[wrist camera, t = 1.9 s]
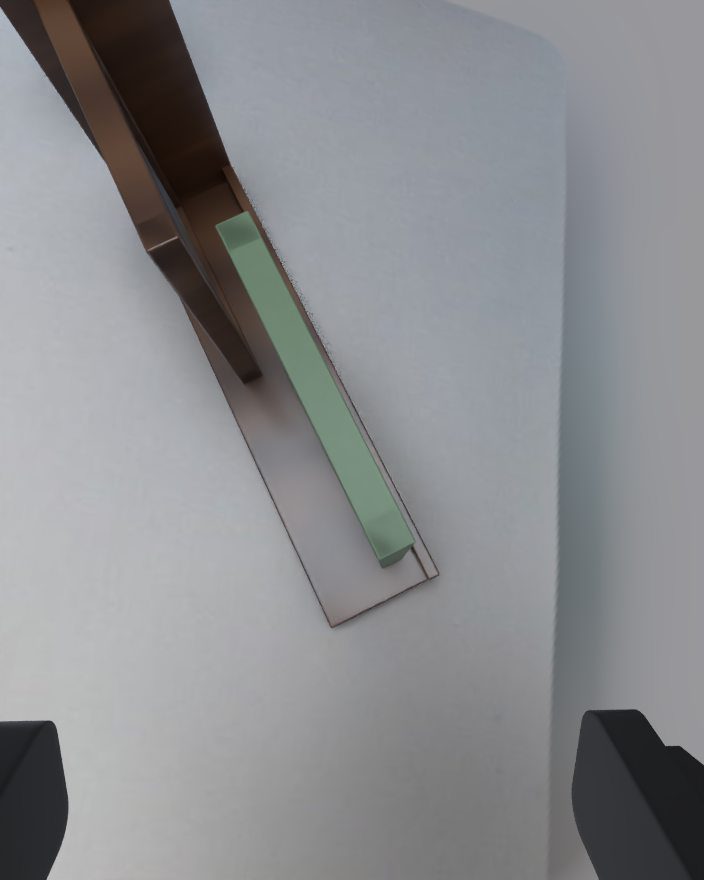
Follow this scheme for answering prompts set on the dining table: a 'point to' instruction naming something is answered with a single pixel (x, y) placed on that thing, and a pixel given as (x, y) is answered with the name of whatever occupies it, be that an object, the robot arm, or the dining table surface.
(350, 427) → the sliding pane
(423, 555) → the window frame
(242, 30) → the dining table surface
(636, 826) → the robot arm
